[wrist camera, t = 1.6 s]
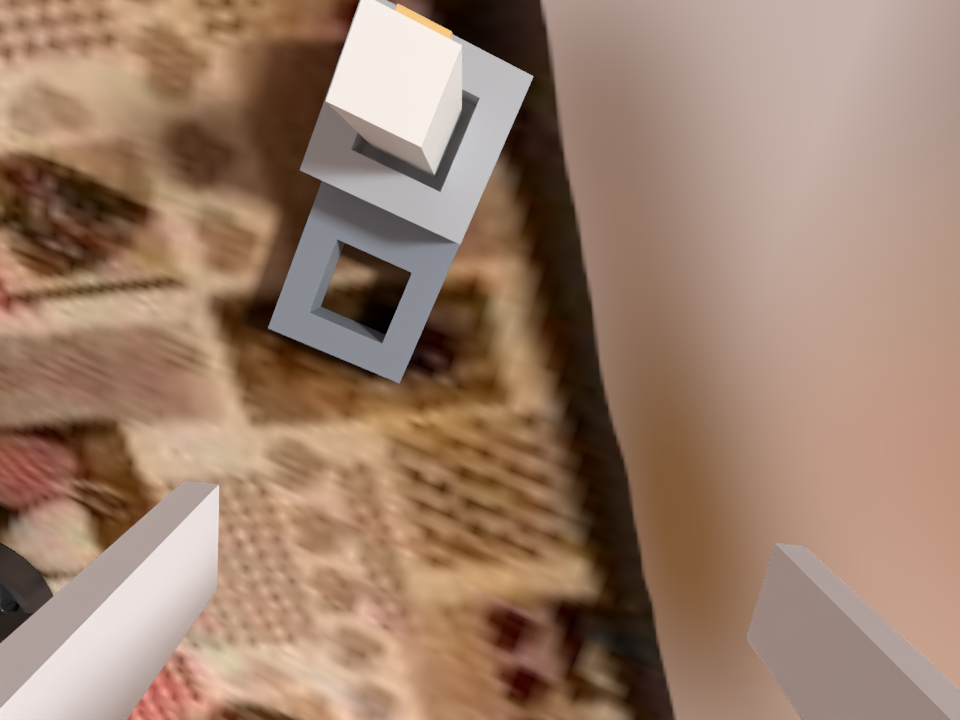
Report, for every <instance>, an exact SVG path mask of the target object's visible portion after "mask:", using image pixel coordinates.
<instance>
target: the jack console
mask: <svg viewBox="0 0 960 720" xmlns="http://www.w3.org/2000/svg"><path fill="white" fill-rule="evenodd" d="M376 1H377V2H379V3H381V4H383V5H385V6H387V7H389V8H391V9H393V10H395V9H396V6H397V5H395V4H393V3H391V2H389V1H387V0H376ZM360 2H361V0H360ZM360 2H359V5H360ZM359 5H358V7H357V10H356V13H355V16H356V14H357V11H358V8H359ZM355 16H354V19H355ZM354 19H353V22H354ZM353 22H352V24H351V27H350V30H351V28H352V25H353ZM350 30H349V33H350ZM349 33H348V36H349ZM348 36H347V38H346V41H345V44H346V42H347V39H348ZM452 40H453V41H455V42H457V43H459V44H461V45H462V116H461V119H460V121H459V123H458V126H457V128H456V131H455V133H454V136H453V138H452V140H451V143H450V145H449V148H448V150H447V153H446V155H445V157H444V160H443V162H442V165H441V167H440V169H439V172H438V174H437V177H436V178H434V177H432V176H430V175H428V174H426V173H424V172H422V171H420V170H417V169H415V168H413V167H411V166H409V165H407V164H405V163H403V162H401V161H399V160H396V159H394V158H392V157H390V156H388V155H386V154H384V153H382V152H380V151H378V150H376V149H375V148H374V147H372V146H371V145H370V144H369V143H368V142H367V141H366V140H365V139H364V138H363V137H362V136H361V135H360V134H359V133H358V132H357V131H356V130H355V129H354V128H353V127H352V126H351V125H350V124H349V123H348V122H347V121H346V120H345V119H343V118H342V117H341V116H340V115H339V114H338V113H337V112H336V111H335V110H334V109H333V108H332V107H331V106H330V105H329V104H328V103H327V102H326V98H327V95H328V92H329V89H330V87H331V84H332V81H333V78H334V75H335V72H336V70H337V67H338V64H339V61H340V58H341V56H342V53H343V50H344V47H345V44H344V47H343V50H342V52H341V55H340V58H339V61H338V64H337V66H336V69H335V72H334V75H333V78H332V81H331V83H330V86H329V89H328V92H327V95H326V97H325V100H324V103H323V106H322V109H321V111H320V114H319V117H318V120H317V123H316V125H315V128H314V131H313V134H312V137H311V140H310V142H309V145H308V148H307V151H306V154H305V156H304V159H303V162H302V165H301V168H300V171H302V172H304V173H307V174H309V175H311V176H313V177H315V178H317V179H320V180H322V182H321V185H320V187H319V190H318V193H317V196H316V198H315V201H314V204H313V207H312V209H311V212H310V215H309V217H308V220H307V223H306V226H305V228H304V231H303V234H302V237H301V239H300V242H299V245H298V247H297V250H296V253H295V256H294V258H293V261H292V264H291V267H290V269H289V272H288V275H287V277H286V280H285V283H284V286H283V288H282V291H281V294H280V297H279V299H278V302H277V305H276V307H275V310H274V313H273V316H272V318H271V321H270V324H269V327H268V329H271V330H273V331H275V332H278V333H280V334H282V335H285V336H287V337H290V338H292V339H294V340H297V341H299V342H302V343H304V344H306V345H309V346H311V347H314V348H316V349H318V350H321V351H323V352H326V353H328V354H330V355H333V356H335V357H338V358H340V359H342V360H345V361H347V362H349V363H352V364H354V365H357V366H359V367H361V368H364V369H366V370H369V371H371V372H373V373H376V374H378V375H381V376H383V377H385V378H388V379H390V380H393V381H395V382H397V383H400V381H401V379H402V376H403V374H404V372H405V369H406V367H407V365H408V363H409V360H410V358H411V356H412V353H413V351H414V349H415V346H416V344H417V342H418V340H419V337H420V335H421V333H422V330H423V328H424V326H425V323H426V321H427V319H428V317H429V314H430V312H431V310H432V307H433V305H434V303H435V300H436V298H437V296H438V294H439V291H440V289H441V287H442V284H443V282H444V280H445V277H446V275H447V273H448V271H449V268H450V266H451V264H452V261H453V259H454V257H455V254H456V252H457V250H458V248H459V245H460V244H461V242H462V239H463V237H464V235H465V233H466V230H467V228H468V226H469V223H470V221H471V219H472V217H473V214H474V212H475V210H476V207H477V205H478V203H479V200H480V198H481V196H482V194H483V191H484V189H485V187H486V184H487V182H488V180H489V177H490V175H491V173H492V171H493V168H494V166H495V164H496V161H497V159H498V157H499V154H500V152H501V150H502V148H503V145H504V143H505V141H506V138H507V136H508V134H509V131H510V129H511V127H512V125H513V122H514V120H515V118H516V115H517V113H518V111H519V109H520V106H521V104H522V102H523V99H524V97H525V95H526V92H527V90H528V88H529V86H530V83H531V81H532V79H533V76H532V75H530V74H528V73H526V72H524V71H522V70H520V69H518V68H516V67H514V66H512V65H510V64H508V63H507V62H505V61H503V60H501V59H499V58H497V57H495V56H493V55H491V54H489V53H487V52H485V51H483V50H482V49H480V48H478V47H476V46H474V45H472V44H470V43H468V42H466V41H464V40H462V39H460V38H458V37H456V36H455V35H453V34H452ZM345 243H346V244H349V245H351V246H353V247H355V248H358V249H360V250H362V251H364V252H366V253H369V254H371V255H373V256H375V257H378V258H380V259H382V260H384V261H386V262H389V263H391V264H393V265H395V266H398V267H400V268H402V269H404V270H406V271H409V272H411V273H412V274H411V276H410V279H409V281H408V283H407V286H406V288H405V291H404V293H403V295H402V298H401V300H400V303H399V305H398V307H397V310H396V312H395V314H394V317H393V319H392V322H391V324H390V326H389V329H388V331H387V333H386V334H383V333H381V332H379V331H376V330H374V329H372V328H369V327H367V326H365V325H362V324H360V323H358V322H355V321H353V320H351V319H348V318H346V317H344V316H341V315H339V314H337V313H334V312H332V311H330V310H327V309H325V308H323V307H321V304H322V301H323V299H324V296H325V294H326V291H327V288H328V286H329V283H330V281H331V278H332V275H333V273H334V270H335V268H336V265H337V263H338V260H339V257H340V255H341V252H342V250H343V247H344V244H345Z"/></svg>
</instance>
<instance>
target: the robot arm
mask: <svg viewBox="0 0 960 720" xmlns="http://www.w3.org/2000/svg"><path fill="white" fill-rule="evenodd" d="M218 518H219V484H212V483H203V482H193V481H183V482H182V483H181V484H180V485H179V486H178V487H176V488H175V489H174V490H173V491H172V492H171V493H170V494H169V495H167V496H166V497H165V498H164V499H163V500H162V501H161V502H160V503H158V504H157V505H156V506H155V507H154V508H153V509H152V510H151V511H149V512H148V513H147V514H146V515H145V516H144V517H143V518H141V519H140V520H139V521H138V522H137V523H136V524H135V525H134V526H132V527H131V528H130V529H129V530H128V531H127V532H126V533H125V534H123V535H122V536H121V537H120V538H119V539H118V540H117V541H115V542H114V543H113V544H112V545H111V546H110V547H109V548H108V549H106V550H105V551H104V552H103V553H102V554H101V555H100V556H99V557H97V558H96V559H95V560H94V561H93V562H92V563H91V564H89V565H88V566H87V567H86V568H85V569H84V570H83V571H82V572H80V573H79V574H78V575H77V576H76V577H75V578H74V579H73V580H71V581H70V582H69V583H68V584H67V585H66V586H65V587H64V588H62V589H61V590H60V591H59V592H58V593H57V594H56V595H54V596H53V594H52V592H51V590H50V588H49V587H48V585H47V583H46V582H45V580H44V579H43V578H42V576H41V575H40V574H39V573H38V572H37V570H36V569H35V568H34V567H33V566H32V565H31V564H30V563H28V562H27V561H26V560H25V559H24V558H22V557H21V556H20V555H18V554H17V553H15V552H14V551H12V550H11V549H9V548H7V547H5V546H3V545H1V544H0V720H127V719H128V717H129V716H130V714H131V713H132V711H133V710H134V708H135V707H136V706H137V704H138V703H139V701H140V700H141V698H142V697H143V696H144V694H145V693H146V691H147V690H148V688H149V687H150V685H151V684H152V683H153V681H154V680H155V678H156V677H157V675H158V674H159V672H160V671H161V670H162V668H163V667H164V665H165V664H166V662H167V661H168V659H169V658H170V657H171V655H172V654H173V652H174V651H175V649H176V648H177V647H178V645H179V644H180V642H181V641H182V639H183V638H184V636H185V635H186V634H187V632H188V631H189V629H190V628H191V626H192V625H193V623H194V622H195V621H196V619H197V618H198V616H199V615H200V613H201V612H202V610H203V609H204V608H205V606H206V605H207V603H208V602H209V600H210V599H211V598H212V596H213V595H214V593H215V592H216V590H217V583H218ZM746 639H747V641H748V643H749V644H750V645H751V647H752V648H753V650H754V651H755V653H756V654H757V656H758V657H759V658H760V660H761V661H762V663H763V664H764V666H765V667H766V669H767V670H768V671H769V673H770V674H771V676H772V677H773V679H774V680H775V682H776V683H777V685H778V686H779V687H780V689H781V690H782V692H783V693H784V695H785V696H786V698H787V699H788V700H789V702H790V703H791V705H792V706H793V707H794V709H795V711H796V712H797V714H798V715H799V716H800V718H801V719H802V720H960V689H959V688H958V687H957V686H956V685H955V684H954V683H953V682H951V681H950V680H949V679H948V678H947V677H946V676H945V675H944V674H943V673H942V672H941V671H939V669H937V668H936V667H935V666H934V665H933V664H932V663H931V662H930V661H929V660H928V659H927V658H925V657H924V656H923V655H922V654H921V653H920V652H919V651H918V650H917V649H916V648H914V646H912V645H911V644H910V643H909V642H908V641H907V640H906V639H905V638H904V637H903V636H902V635H901V634H900V633H898V632H897V631H896V630H895V629H894V628H893V627H892V626H891V625H890V624H889V623H888V622H887V621H885V620H884V619H883V618H882V617H881V616H880V615H879V614H878V613H877V612H876V611H875V610H874V609H873V608H871V607H870V606H869V605H868V604H867V603H866V602H865V601H864V600H863V599H861V598H860V597H859V596H858V595H857V594H856V593H855V592H854V591H853V590H852V589H851V588H850V587H849V586H848V585H847V584H845V583H844V582H843V581H842V580H841V579H840V578H839V577H838V576H837V575H836V574H835V573H834V572H832V571H831V570H830V569H829V568H828V567H827V566H826V565H825V564H824V563H823V562H822V561H821V560H820V559H818V558H817V557H816V556H815V555H814V554H813V553H812V552H811V551H810V550H809V549H808V548H807V547H805V546H798V545H788V544H779V543H775V545H774V548H773V551H772V554H771V558H770V561H769V565H768V568H767V571H766V574H765V578H764V581H763V585H762V588H761V591H760V594H759V597H758V601H757V604H756V608H755V611H754V614H753V617H752V620H751V624H750V627H749V630H748V634H747V637H746Z"/></svg>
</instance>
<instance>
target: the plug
mask: <svg viewBox="0 0 960 720" xmlns="http://www.w3.org/2000/svg"><path fill="white" fill-rule="evenodd" d="M326 102H327V103H328V104H329V105H330V106H331V107H332V108H333V109H334V110H335V111H336V112H337V113H338V114H339V115H340V116H341V117H342V118H343V119H345V120H346V121H347V122H348V123H349V124H350V125H351V126H352V127H353V128H354V129H355V130H356V131H357V132H358V133H359V134H360V135H361V136H362V137H363V138H364V139H365V140H366V141H367V142H368V143H369V144H370V145H371V146H372V147H374V148H375V149H376V150H378V151H380V152H382V153H384V154H386V155H388V156H390V157H392V158H394V159H396V160H399V161H401V162H403V163H405V164H407V165H409V166H411V167H413V168H415V169H417V170H420V171H422V172H424V173H426V174H428V175H430V176H432V177H434V178H436V177H437V174H438V172H439V169H440V167H441V165H442V162H443V160H444V157H445V155H446V153H447V150H448V148H449V145H450V143H451V140H452V138H453V136H454V133H455V131H456V128H457V126H458V123H459V121H460V119H461V116H462V45H461V44H459V43H457V42H455V41H453V40H452V31H450V30H448V29H446V28H444V27H442V26H440V25H438V24H436V23H434V22H432V21H430V20H429V19H427V18H425V17H423V16H421V15H419V14H417V13H415V12H413V11H411V10H409V9H407V8H405V7H404V6H402V5H400V4H397V6H396V9H395V10H393V9H391V8H389V7H387V6H385V5H383V4H381V3H379V2H377V1H376V0H361V2H360V5H359V8H358V11H357V14H356V16H355V19H354V22H353V25H352V28H351V30H350V33H349V36H348V39H347V42H346V44H345V47H344V50H343V53H342V56H341V58H340V61H339V64H338V67H337V70H336V72H335V75H334V78H333V81H332V84H331V87H330V89H329V92H328V95H327V98H326Z"/></svg>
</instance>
